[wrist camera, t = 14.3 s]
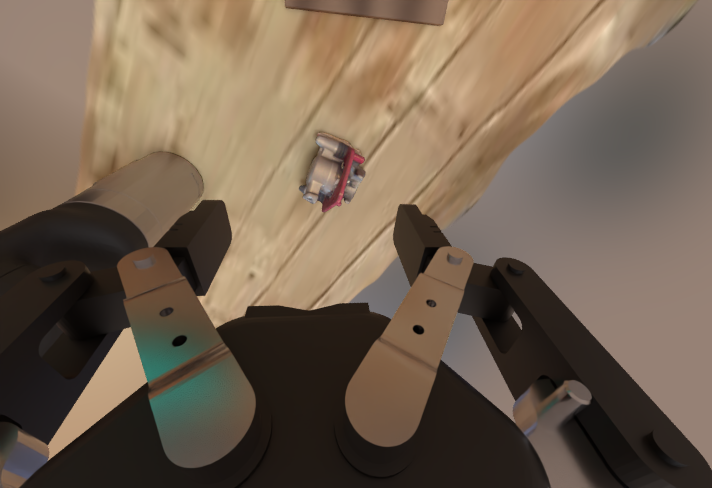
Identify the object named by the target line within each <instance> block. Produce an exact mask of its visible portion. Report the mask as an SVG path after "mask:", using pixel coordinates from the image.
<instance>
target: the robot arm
mask: <svg viewBox="0 0 712 488" xmlns="http://www.w3.org/2000/svg"><path fill="white" fill-rule="evenodd" d="M202 193H203V181H202V178H201V176H200V174H199V173H198V171H197V170H196V168H195V167H194V166H193V165H192V164H191V163H189V162H188V161H187V160H185V159H184V158H182V157H180V156H178V155H175V154H172V153H168V152H156V153H152V154H150V155H148V156H146V157H144V158H142V159H140V160H136V161H134V162H132V163H130V164H128V165H126V166H124V167H123V168H121V169H119V170H117V171H115V172H114V173H112V174H110V175H108V176H106V177H105V178H103V179H101V180H99V181H97V182H95V183H94V184H93V186H92V187H90V188H89V189H87V190H85V191H83V192H82V193H80V194H78V195H77V196H75V197H73V198H71V199H69V200H68V201H66V202H64V203H62V204H61V205H59V206H57V207H55V208H53V209H51V210H46V211H42V212H39V213H37V214H34V215H32V216H30V217H28V218H26V219H24V220H22V221H20V222H18V223H16V224H15V225H12V226H10V227H8V228H6V229H4V230H2V231H0V488H712V470H711V468H710V466H709V465H708V463H707V462H706V460H705V459H704V457H703V456H702V455H701V454H700V452H699V451H698V450H697V449H696V448H695V447H694V446H693V445H692V444H691V442H690V441H689V440H688V439H687V438H686V437H685V436H684V435H683V434H682V432H681V431H680V430H679V429H678V428H677V427H676V426H675V425H674V424H673V423H672V422H671V420H670V419H669V418H668V417H667V416H666V415H665V414H664V413H663V412H662V411H661V410H660V409H659V407H658V406H657V405H656V404H655V403H654V402H653V401H652V400H651V399H650V397H649V396H648V395H647V394H646V393H645V392H644V391H643V390H642V389H641V388H640V387H639V385H638V384H637V383H636V382H635V381H634V380H633V379H632V378H631V377H630V376H629V374H628V373H627V372H626V371H625V370H624V369H623V368H622V367H621V366H620V365H619V364H618V363H617V361H616V360H615V359H614V358H613V357H612V356H611V355H610V354H609V353H608V351H606V349H605V348H604V347H603V346H602V345H601V344H600V343H599V342H598V341H597V340H596V338H595V337H594V336H593V335H592V334H591V333H590V332H589V331H588V330H587V329H586V327H585V326H584V325H583V324H582V323H581V322H580V321H579V320H578V319H577V318H576V316H575V315H574V314H573V313H572V312H571V311H570V310H569V309H568V308H567V307H566V306H565V304H564V303H563V302H562V301H561V300H560V299H559V298H558V297H557V296H556V295H555V293H554V292H553V291H552V290H551V289H550V288H549V287H548V286H547V285H546V284H545V283H544V282H543V280H542V279H541V278H540V277H539V276H538V275H537V274H536V273H535V272H534V270H532V268H530V267H529V266H528V265H526V264H525V263H523V262H521V261H519V260H516V259H512V258H499V259H497V260H496V262H495V264H494V266H493V267H491V266H486V265H481V264H476V263H473V259H472V257H471V256H470V255H469V254H468V253H467V252H465V251H463V250H461V249H459V248H456V247H452V246H451V245H450V243H449V242H448V240H447V239H446V237H445V236H444V235H443V233H441V230H440V229H439V228H438V226H437V224H436V223H435V221H434V220H433V219H431V218H430V217H428V216H427V215H422V213H421V212H420V210H419V209H418V207H417V206H416V205H411V204H400V205H399V207H398V211H397V217H396V222H395V227H394V233H393V241H394V245H395V247H396V250H397V253H398V255H399V258H400V260H401V263H402V265H403V268H404V270H405V273H406V275H407V278H408V281H409V283H410V286H411V288H410V290H409V292H408V293H407V295H406V297H405V298H404V300H403V302H402V303H401V305H400V306H399V308H398V310H397V311H396V313H395V314H394V316H393V318H392V319H390V318H388V317H386V316H383V315H381V314H377V313H374V312H370V311H369V305H368V303H342V304H336V305H332V306H328V307H323V308H319V309H315V310H309V311H308V310H302V309H296V308H290V307H284V306H279V305H278V306H248V307H247V311H246V314H245V316H243V317H240V318H237V319H234V320H231V321H229V322H227V323H225V324H223V325H221V326H219V327H217V328H216V329H215V327H214V325H213V323H212V322H211V320H210V318H209V317H208V315H207V313H206V312H205V310H204V308H203V306H202V305H201V303H200V301H199V300H198V298H197V296H205V295H206V293H207V291H208V289H209V287H210V285H211V283H212V281H213V279H214V277H215V275H216V273H217V271H218V268H219V266H220V264H221V262H222V260H223V258H224V256H225V254H226V252H227V250H228V248H229V246H230V244H231V240H232V232H231V227H230V223H229V219H228V215H227V211H226V207H225V204H224V202H223V201H222V200H203V201H202V202H201V203H200V204H199V205H198V206H197V208H196V209H195V210H194V211H189V210H190V209H191V208H192V207H193V205H194V204H195V203H196V202H197V201H198V200H199V198H200V197H201V195H202ZM188 211H189V212H188ZM187 212H188V213H187ZM514 311H515V313H516V314H517V315H518V317H519V318H520V320H521V323H522V330H521V329H520V327H519V326H518V324H517V323H516V321H515V320H514V318H513V317H512V314H513V313H514ZM457 312H458V313H462V314H467V315H471V316H472V317H473V319H474V321H475V323H476V325H477V326H478V329H479V331H480V333H481V335H482V337H483V339H484V340H485V342H486V345H487V346H488V348H489V350H490V352H491V354H492V356H493V358H494V360H495V362H496V364H497V366H498V368H499V370H500V372H501V374H502V376H503V378H504V380H505V382H506V384H507V385H508V388H509V390H510V391H511V393H512V395H513V397H514V399H515V403H514V405H513V416H514V420H515V422H516V424H515V423H514V422H513V421H512V420H511V419H510V418H509V417H508V416H507V415H505V414H504V413H503V412H502V411H501V410H500V409H498V408H497V407H496V406H495V405H494V404H492V403H491V402H490V401H489V400H488V399H487V398H485V397H484V396H483V395H482V394H481V393H480V392H478V391H477V390H476V389H475V388H474V387H472V386H471V385H470V384H469V383H468V382H467V381H465V380H464V379H463V378H462V377H461V376H460V375H458V374H457V373H456V372H455V371H454V370H452V369H451V368H450V367H448V365H446V364H445V363H444V362H443V361H442V360H441V357H442V354H443V351H444V348H445V345H446V343H447V340H448V337H449V334H450V331H451V329H452V326H453V323H454V320H455V317H456V314H457ZM129 327H131V329H132V332H133V335H134V339H135V342H136V345H137V348H138V352H139V355H140V358H141V362H142V365H143V368H144V371H145V375H146V378H147V381H148V382H147V383H146V384H144V385H143V386H142V387H141V388H139V389H138V390H137V391H135V392H134V393H133V394H132V395H130V396H129V397H128V398H127V399H125V400H124V401H123V402H122V403H120V404H119V405H118V406H117V407H115V408H114V409H113V410H112V411H110V412H109V413H108V414H106V415H105V416H104V417H103V418H102V419H100V420H99V421H98V422H96V423H95V424H94V425H93V426H91V427H90V428H89V429H88V430H86V431H85V432H84V433H83V434H81V435H80V436H79V437H78V438H76V439H75V440H74V441H72V442H71V443H70V444H69V445H67V446H66V447H65V448H64V449H62V450H61V451H60V452H59V453H58V454H56V455H55V456H54V457H52V458H51V459H50V460H49V461H48V458H49V448H48V444H49V442H50V441H51V439H52V438H53V436H54V435H55V433H56V432H57V430H58V429H59V427H60V426H61V424H62V423H63V421H64V419H65V418H66V416H67V415H68V413H69V412H70V410H71V409H72V407H73V406H74V404H75V403H76V401H77V400H78V398H79V396H80V395H81V393H82V392H83V390H84V389H85V387H86V386H87V384H88V383H89V381H90V380H91V378H92V377H93V375H94V373H95V372H96V370H97V369H98V367H99V366H100V364H101V362H102V361H103V360H104V358H105V357H106V355H107V353H108V352H109V350H110V349H111V347H112V346H113V344H114V343H115V341H116V340H117V338H118V337H119V335H120V334H121V332H122V331H123V329H125V328H129Z"/></svg>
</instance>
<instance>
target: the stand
mask: <svg viewBox="0 0 712 488" xmlns="http://www.w3.org/2000/svg"><path fill="white" fill-rule="evenodd" d="M447 4H448V0H285V7H286V8H291V9H300V10H308V11H317V12H326V13H334V14H343V15H351V16H360V17H368V18H377V19H385V20H394V21H402V22H411V23H420V24H428V25H437V26H440V25H443V23H444V19H445V14H446V9H447Z"/></svg>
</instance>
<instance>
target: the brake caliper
mask: <svg viewBox="0 0 712 488" xmlns="http://www.w3.org/2000/svg"><path fill="white" fill-rule="evenodd" d="M316 143H317V144H318V145H319V146H320V149H319V151H318V155H317V156H316V157H315V158H314V159H313V162H312V164H311V167H310V169H309V172H308V175H307V178H306V185H303V186H302V185H301V186H300V187H299V190H300V191H301V192H303V194H304V195H303V198H304V199H305V200H307V201H309V202H310V203H312V204H313V203H316V202H317V200H318V201H320V202H321V203H322V204H323V206H322V212H326V211H328V210H329V209H331V208H332V207H334V206H335V205H337V206H341V200H342V198H344V201H345V203H347V204H349V203H350V202H351V200H352V198H353V197H354V194H355V192H356V190H357V187H358V186H359V184H360V183H361V181H362V180H363V178H364V177H365V171H364V170H363V169H362V168H361V167H360V166H359V164H362V163H363V162H364V161H365V158H364V157H362V156H361V153H360V151H359V149H354V148H353V147H352V146H351V144H350V143H349V142H347V141H345V140H343V139H338V138H336V137H334V136H332V135H330V134H327V133H320V132H319V133H318V136H317V138H316Z"/></svg>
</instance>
